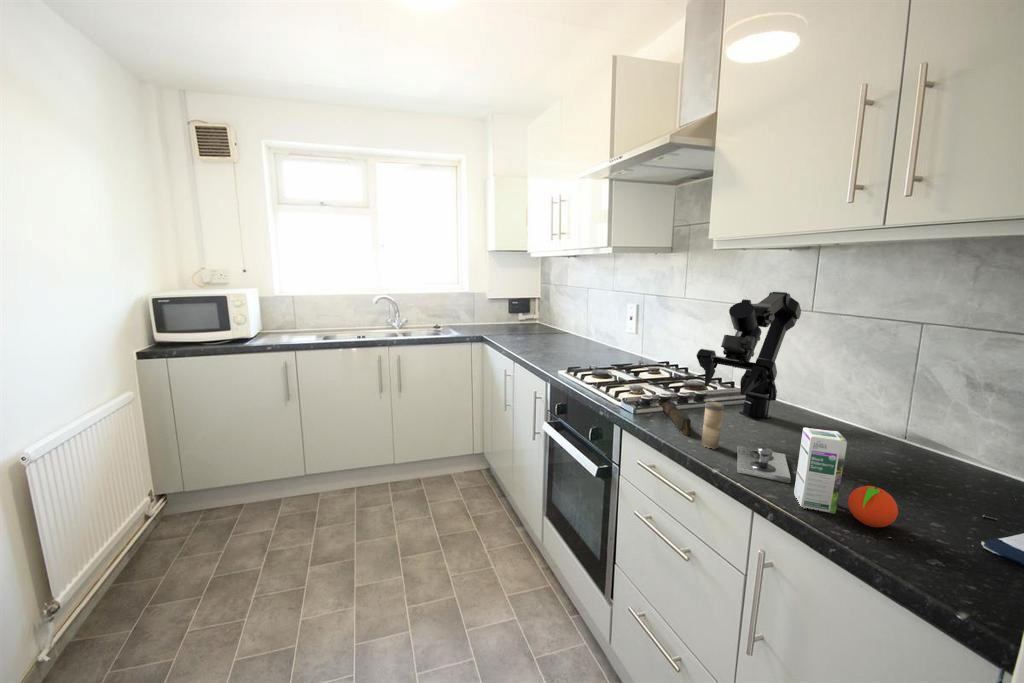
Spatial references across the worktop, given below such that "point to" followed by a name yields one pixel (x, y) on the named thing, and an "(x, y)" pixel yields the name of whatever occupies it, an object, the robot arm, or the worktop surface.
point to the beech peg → (712, 424)
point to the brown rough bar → (677, 417)
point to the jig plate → (754, 472)
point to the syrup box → (820, 469)
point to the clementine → (873, 506)
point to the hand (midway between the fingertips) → (723, 390)
